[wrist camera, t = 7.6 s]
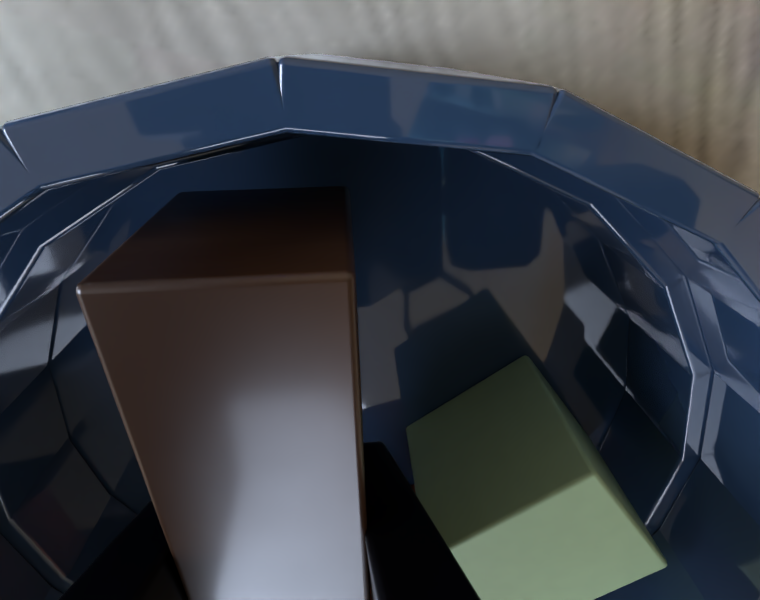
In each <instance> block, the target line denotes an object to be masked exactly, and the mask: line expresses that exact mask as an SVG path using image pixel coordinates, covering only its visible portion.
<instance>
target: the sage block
mask: <svg viewBox="0 0 760 600" xmlns="http://www.w3.org/2000/svg"><path fill="white" fill-rule="evenodd" d="M406 434H407V440H408V447H409V453H410V460H411V466H412V473H413V479H414V485H415V492H416V496H417V497H418V499H419V501H420V502H421V504H422V505H423V507H424V509H425V510H426V512H427V513H428V515H429V517H430V518H431V520H432V521H433V523H434V525H435V526H436V528H437V530H438V531H439V533H440V534H441V536H442V538H443V539H444V541H445V542H446V544H447V546H448V547H449V549H450V551H451V552H452V554H453V555H454V557H455V559H456V560H457V562H458V563H459V565H460V567H461V568H462V570H463V572H464V573H465V575H466V576H467V578H468V580H469V581H470V583H471V584H472V586H473V588H474V589H475V591H476V593H477V594H478V596H479V597H480V599H481V600H594V599H596V598H598V597H601V596H603V595H605V594H607V593H609V592H612V591H614V590H616V589H618V588H621V587H623V586H625V585H627V584H630V583H632V582H634V581H636V580H639V579H641V578H643V577H645V576H648V575H650V574H652V573H654V572H657V571H659V570H661V569H663V568H665V567H666V566H667V561H666V559H665V557H664V556H663V554H662V553H661V551H660V549H659V548H658V546H657V545H656V543H655V541H654V540H653V538H652V537H651V535H650V533H649V532H648V530H647V529H646V527H645V525H644V524H643V522H642V521H641V519H640V518H639V516H638V514H637V513H636V511H635V510H634V508H633V506H632V505H631V503H630V502H629V500H628V498H627V497H626V495H625V494H624V492H623V490H622V489H621V487H620V486H619V484H618V482H617V481H616V479H615V478H614V476H613V474H612V473H611V471H610V470H609V468H608V466H607V465H606V463H605V462H604V460H603V458H602V457H601V455H600V454H599V452H598V450H597V449H596V447H595V446H594V444H593V442H592V441H591V439H590V438H589V436H588V435H587V434H586V432H585V431H584V430H583V428H582V427H581V426H580V424H579V423H578V422H577V420H576V419H575V418H574V416H573V415H572V414H571V412H570V411H569V410H568V408H567V407H566V406H565V404H564V403H563V402H562V400H561V399H560V398H559V396H558V395H557V394H556V392H555V391H554V390H553V388H552V387H551V386H550V384H549V383H548V382H547V380H546V379H545V378H544V376H543V375H542V374H541V372H540V371H539V370H538V368H537V367H536V366H535V364H534V363H533V362H532V360H531V359H530V358H529V357H528V356H526V355H525V356H522V357H520V358H519V359H517V360H516V361H514V362H512V363H511V364H509V365H507V366H506V367H504V368H502V369H501V370H499V371H498V372H496V373H494V374H493V375H491V376H489V377H488V378H486V379H484V380H483V381H481V382H479V383H478V384H476V385H475V386H473V387H471V388H470V389H468V390H466V391H465V392H463V393H461V394H460V395H458V396H457V397H455V398H453V399H452V400H450V401H448V402H447V403H445V404H443V405H442V406H440V407H439V408H437V409H435V410H434V411H432V412H430V413H429V414H427V415H425V416H424V417H422V418H421V419H419V420H417V421H416V422H414V423H412V424H411V425H409V426H408V427H407V428H406Z"/></svg>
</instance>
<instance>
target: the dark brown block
mask: <svg viewBox="0 0 760 600" xmlns="http://www.w3.org/2000/svg"><path fill="white" fill-rule="evenodd" d="M76 296H77V299H78V301H79V304H80V307H81V310H82V312H83V315H84V318H85V320H86V323H87V326H88V329H89V331H90V334H91V337H92V339H93V342H94V345H95V348H96V350H97V353H98V356H99V358H100V361H101V364H102V367H103V369H104V372H105V375H106V378H107V380H108V383H109V386H110V388H111V391H112V394H113V397H114V399H115V402H116V405H117V407H118V410H119V413H120V416H121V418H122V421H123V424H124V426H125V429H126V432H127V435H128V437H129V440H130V443H131V445H132V448H133V451H134V454H135V456H136V459H137V462H138V465H139V467H140V470H141V473H142V475H143V478H144V481H145V484H146V486H147V489H148V492H149V494H150V497H151V500H152V503H153V505H154V508H155V511H156V513H157V516H158V519H159V522H160V524H161V527H162V530H163V532H164V535H165V538H166V541H167V543H168V546H169V549H170V552H171V554H172V557H173V560H174V562H175V565H176V568H177V571H178V573H179V576H180V579H181V581H182V584H183V587H184V590H185V592H186V595H187V598H188V600H370V578H369V567H368V559H367V551H366V543H365V533H366V530H367V512H366V490H365V468H364V446H363V424H362V402H361V380H360V358H359V336H358V314H357V292H356V273H355V259H354V246H353V232H352V219H351V205H350V192H349V190H348V188H347V187H344V186H329V187H302V188H274V189H247V190H219V191H192V192H180V193H178V194H177V195H176V196H175V197H173V198H172V199H171V200H170V201H169V202H168V203H167V204H166V205H165V206H164V207H162V208H161V209H160V210H159V211H158V212H157V213H156V214H155V215H154V216H152V217H151V218H150V219H149V220H148V221H147V222H146V223H145V224H144V225H143V226H141V227H140V228H139V229H138V230H137V231H136V232H135V233H134V234H133V235H131V236H130V237H129V238H128V239H127V240H126V241H125V242H124V243H123V244H122V245H120V246H119V247H118V248H117V249H116V250H115V251H114V252H113V253H112V254H110V255H109V256H108V257H107V258H106V259H105V260H104V261H103V262H102V263H101V264H99V265H98V266H97V267H96V268H95V269H94V270H93V271H92V272H91V273H89V274H88V275H87V276H86V277H85V278H84V279H83V280H82V281H81V282H80V283H78V284H77V287H76Z"/></svg>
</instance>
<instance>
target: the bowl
mask: <svg viewBox="0 0 760 600" xmlns="http://www.w3.org/2000/svg"><path fill="white" fill-rule="evenodd" d="M329 186H344V187H347V188H348V190H349V192H350V205H351V219H352V232H353V246H354V259H355V273H356V292H357V314H358V336H359V358H360V380H361V402H362V424H363V443H365V442H375V441H381V442H383V443H384V444H385V446H386V447H387V449H388V450H389V452H390V454H391V455H392V457H393V459H394V460H395V462H396V463H397V465H398V467H399V468H400V470H401V471H402V473H403V475H404V476H405V478H406V480H407V481H408V483H409V484H410V485H413V484H414V479H413V473H412V466H411V460H410V453H409V447H408V440H407V434H406V428H407V427H408V426H409V425H411V424H412V423H414V422H416V421H417V420H419V419H421V418H422V417H424V416H425V415H427V414H429V413H430V412H432V411H434V410H435V409H437V408H439V407H440V406H442V405H443V404H445V403H447V402H448V401H450V400H452V399H453V398H455V397H457V396H458V395H460V394H461V393H463V392H465V391H466V390H468V389H470V388H471V387H473V386H475V385H476V384H478V383H479V382H481V381H483V380H484V379H486V378H488V377H489V376H491V375H493V374H494V373H496V372H498V371H499V370H501V369H502V368H504V367H506V366H507V365H509V364H511V363H512V362H514V361H516V360H517V359H519V358H520V357H522V356H525V355H526V356H528V357H529V358H530V359H531V360H532V362H533V363H534V364H535V366H536V367H537V368H538V370H539V371H540V372H541V374H542V375H543V376H544V378H545V379H546V380H547V382H548V383H549V384H550V386H551V387H552V388H553V390H554V391H555V392H556V394H557V395H558V396H559V398H560V399H561V400H562V402H563V403H564V404H565V406H566V407H567V408H568V410H569V411H570V412H571V414H572V415H573V416H574V418H575V419H576V420H577V422H578V423H579V424H580V426H581V427H582V428H583V430H584V431H585V432H586V434H587V435H588V436H589V438H590V439H591V441H592V442H593V444H594V446H595V447H596V449H597V450H598V452H599V454H600V455H601V457H602V458H603V460H604V462H605V463H606V465H607V466H608V468H609V470H610V471H611V473H612V474H613V476H614V478H615V479H616V481H617V482H618V484H619V486H620V487H621V489H622V490H623V492H624V494H625V495H626V497H627V498H628V500H629V502H630V503H631V505H632V506H633V508H634V510H635V511H636V513H637V514H638V516H639V518H640V519H641V521H642V522H643V524H644V525H645V527H646V529H647V530H648V532H649V533H650V535H651V537H652V538H653V540H654V541H655V543H656V545H657V546H658V548H659V549H660V551H661V553H662V554H663V556H664V557H665V559H666V561H667V566H666V567H665V568H663V569H661V570H659V571H657V572H654V573H652V574H650V575H648V576H645V577H643V578H641V579H639V580H636V581H634V582H632V583H630V584H627V585H625V586H623V587H621V588H618V589H616V590H614V591H612V592H609V593H607V594H605V595H603V596H601V597H598V598H596V599H594V600H760V195H759V194H758V193H757V191H755V190H753V189H751V188H749V187H747V186H745V185H744V184H742V183H740V182H738V181H736V180H734V179H732V178H730V177H729V176H727V175H725V174H723V173H721V172H719V171H717V170H716V169H714V168H712V167H710V166H708V165H706V164H704V163H702V162H701V161H699V160H697V159H695V158H693V157H691V156H689V155H687V154H686V153H684V152H682V151H680V150H678V149H676V148H674V147H673V146H671V145H669V144H667V143H665V142H663V141H661V140H659V139H658V138H656V137H654V136H652V135H650V134H648V133H646V132H644V131H643V130H641V129H639V128H637V127H635V126H633V125H631V124H630V123H628V122H626V121H624V120H622V119H620V118H618V117H616V116H615V115H613V114H611V113H609V112H607V111H605V110H603V109H602V108H600V107H598V106H596V105H594V104H592V103H590V102H588V101H587V100H585V99H583V98H581V97H579V96H577V95H575V94H573V93H572V92H570V91H568V90H566V89H561V88H555V87H553V86H551V85H546V84H540V83H534V82H528V81H523V80H517V79H511V78H505V77H499V76H493V75H487V74H481V73H475V72H470V71H464V70H458V69H452V68H443V67H435V66H426V65H417V64H408V63H399V62H390V61H382V60H373V59H364V58H355V57H346V56H338V55H329V54H320V53H313V54H299V55H284V56H272V57H265V58H261V59H257V60H253V61H249V62H245V63H241V64H237V65H233V66H229V67H225V68H221V69H216V70H212V71H208V72H204V73H200V74H196V75H192V76H188V77H184V78H180V79H176V80H172V81H168V82H164V83H160V84H156V85H152V86H148V87H144V88H140V89H136V90H132V91H128V92H124V93H119V94H115V95H111V96H107V97H103V98H99V99H95V100H91V101H87V102H83V103H79V104H75V105H71V106H67V107H63V108H59V109H55V110H51V111H47V112H43V113H39V114H35V115H31V116H27V117H22V118H18V119H14V120H10V121H7V122H6V123H5V124H4V125H3V126H0V600H58V599H59V598H60V597H61V596H62V595H63V594H64V593H65V592H66V590H67V589H68V588H69V587H70V586H71V585H72V584H73V583H74V582H75V581H76V580H77V579H78V578H79V577H80V576H81V574H82V573H83V572H84V571H85V570H86V569H87V568H88V567H89V566H90V565H91V564H92V563H93V562H94V561H95V560H96V558H97V557H98V556H99V555H100V554H101V553H102V552H103V551H104V550H105V549H106V548H107V547H108V546H109V545H110V544H111V542H112V541H113V540H114V539H115V538H116V537H117V536H118V535H119V534H120V533H121V532H122V531H123V530H124V529H125V528H126V526H127V525H128V524H129V523H130V522H131V521H132V520H133V519H134V518H135V517H136V516H137V515H138V514H139V513H140V512H141V510H142V509H143V508H144V507H145V506H146V505H147V504H148V503H149V502H150V501H151V497H150V494H149V492H148V489H147V486H146V484H145V481H144V478H143V475H142V473H141V470H140V467H139V465H138V462H137V459H136V456H135V454H134V451H133V448H132V445H131V443H130V440H129V437H128V435H127V432H126V429H125V426H124V424H123V421H122V418H121V416H120V413H119V410H118V407H117V405H116V402H115V399H114V397H113V394H112V391H111V388H110V386H109V383H108V380H107V378H106V375H105V372H104V369H103V367H102V364H101V361H100V358H99V356H98V353H97V350H96V348H95V345H94V342H93V339H92V337H91V334H90V331H89V329H88V326H87V323H86V320H85V318H84V315H83V312H82V310H81V307H80V304H79V301H78V299H77V296H76V287H77V284H78V283H80V282H81V281H82V280H83V279H84V278H85V277H86V276H87V275H88V274H89V273H91V272H92V271H93V270H94V269H95V268H96V267H97V266H98V265H99V264H101V263H102V262H103V261H104V260H105V259H106V258H107V257H108V256H109V255H110V254H112V253H113V252H114V251H115V250H116V249H117V248H118V247H119V246H120V245H122V244H123V243H124V242H125V241H126V240H127V239H128V238H129V237H130V236H131V235H133V234H134V233H135V232H136V231H137V230H138V229H139V228H140V227H141V226H143V225H144V224H145V223H146V222H147V221H148V220H149V219H150V218H151V217H152V216H154V215H155V214H156V213H157V212H158V211H159V210H160V209H161V208H162V207H164V206H165V205H166V204H167V203H168V202H169V201H170V200H171V199H172V198H173V197H175V196H176V195H177V194H178V193H180V192H192V191H219V190H247V189H274V188H302V187H329Z"/></svg>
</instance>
